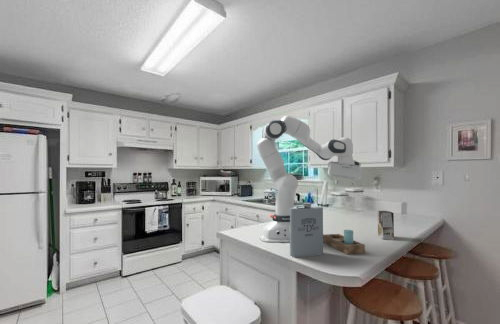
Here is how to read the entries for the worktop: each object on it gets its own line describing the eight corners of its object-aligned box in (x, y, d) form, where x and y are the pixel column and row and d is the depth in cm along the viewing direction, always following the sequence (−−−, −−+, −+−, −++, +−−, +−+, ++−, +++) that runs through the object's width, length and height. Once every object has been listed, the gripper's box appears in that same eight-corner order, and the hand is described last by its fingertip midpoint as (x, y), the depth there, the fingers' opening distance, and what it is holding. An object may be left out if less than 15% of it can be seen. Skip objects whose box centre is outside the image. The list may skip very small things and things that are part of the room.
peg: (347, 252, 117) (347, 231, 117) (342, 249, 121) (342, 229, 122) (355, 251, 118) (355, 231, 118) (349, 248, 122) (349, 229, 123)
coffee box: (394, 240, 139) (394, 212, 140) (382, 239, 140) (382, 212, 141) (388, 236, 148) (388, 210, 149) (377, 235, 149) (377, 210, 150)
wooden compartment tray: (347, 254, 113) (347, 246, 113) (323, 241, 134) (323, 234, 134) (364, 253, 115) (364, 245, 115) (338, 240, 137) (338, 233, 137)
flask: (293, 258, 108) (293, 203, 109) (288, 254, 112) (288, 202, 113) (325, 254, 113) (325, 202, 114) (320, 251, 117) (319, 201, 119)
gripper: (329, 159, 142) (328, 181, 138) (363, 163, 141) (363, 186, 137) (326, 162, 148) (325, 183, 144) (359, 166, 147) (359, 187, 143)
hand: (344, 184), depth 141 cm, fingers open, 8 cm apart
